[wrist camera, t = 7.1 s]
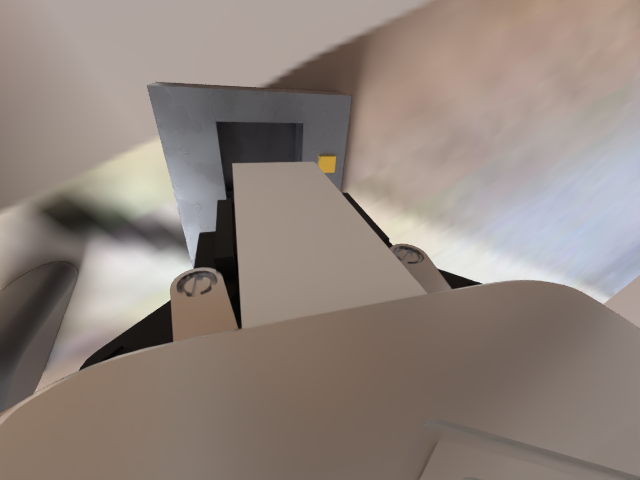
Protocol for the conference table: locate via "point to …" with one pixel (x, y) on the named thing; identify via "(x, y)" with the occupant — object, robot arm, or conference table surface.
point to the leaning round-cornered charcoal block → (31, 327)
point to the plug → (306, 247)
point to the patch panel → (241, 139)
